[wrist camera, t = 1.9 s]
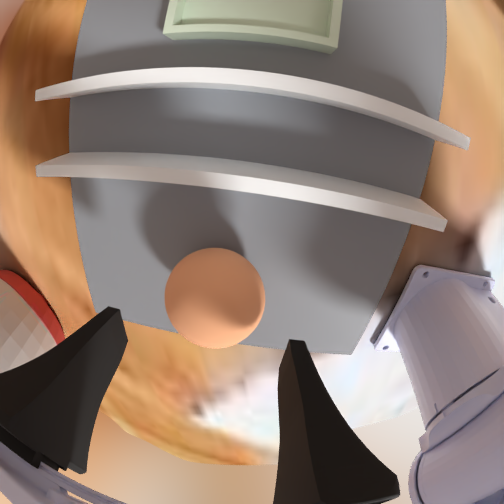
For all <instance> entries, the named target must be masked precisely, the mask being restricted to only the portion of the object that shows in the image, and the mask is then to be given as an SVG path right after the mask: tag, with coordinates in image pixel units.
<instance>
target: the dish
mask: <svg viewBox="0 0 504 504" xmlns="http://www.w3.org/2000/svg"><path fill="white" fill-rule="evenodd" d="M342 3H343V0H170V1H169V5H168V10H167V14H166V19H165V24H164V29H163V34H164V35H166V36H167V37H169V38H170V39H172V40H189V39H222V40H242V41H254V42H264V43H272V44H280V45H286V46H293V47H298V48H304V49H309V50H314V51H318V52H323V53H327V54H332V53H333V52H334V51H335V50H336V49H337V47H338V39H339V31H340V22H341V13H342Z"/></svg>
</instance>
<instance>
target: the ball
mask: <svg viewBox="0 0 504 504" xmlns="http://www.w3.org/2000/svg"><path fill="white" fill-rule="evenodd" d="M264 307H265V290H264V285H263V282H262V279H261V277H260V275H259V273H258V272H257V270H256V269H255V267H254V266H253V265H252V264H251V263H250V262H249V261H248V260H247V259H246V258H244V257H243V256H241V255H240V254H238V253H236V252H234V251H231V250H228V249H223V248H206V249H201V250H197V251H195V252H193V253H191V254H189V255H187V256H186V257H184V258H183V259H182V260H181V261H180V262H179V263H178V264H177V265H176V266H175V267H174V269H173V270H172V272H171V274H170V275H169V278H168V280H167V283H166V287H165V308H166V312H167V315H168V317H169V319H170V321H171V323H172V325H173V326H174V328H175V329H176V330H177V331H178V333H179V334H180V335H182V336H183V337H184V338H185V339H187V340H188V341H190V342H192V343H194V344H196V345H198V346H202V347H206V348H225V347H229V346H232V345H235V344H237V343H239V342H241V341H242V340H244V339H245V338H247V337H248V336H249V335H250V334H251V333H252V332H253V331H254V330H255V328H256V327H257V325H258V324H259V322H260V320H261V318H262V315H263V312H264Z"/></svg>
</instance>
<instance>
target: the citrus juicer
mask: <svg viewBox="0 0 504 504" xmlns="http://www.w3.org/2000/svg"><path fill="white" fill-rule="evenodd" d="M63 340H65V337H64V333H63V331H62V328H61V326H60V324H59V322H58V320H57V319H56V317H55V315H54V314H53V312H52V311H51V309H50V308H49V306H48V305H47V303H46V301H45V299H44V298H43V296H42V295H41V294H40V293H38V292H36V291H35V289H33V288H32V287H31V286H30V285H29V284H28V283H27V282H26V281H25V280H24V279H23V278H21V277H20V276H19V275H17V274H15V273H14V272H12V271H9V270H0V373H3V372H5V371H8V370H11V369H13V368H16V367H18V366H21V365H23V364H25V363H27V362H29V361H31V360H33V359H35V358H37V357H39V356H40V355H42V354H44V353H45V352H47V351H49V350H50V349H52V348H53V347H55V346H56V345H58V344H59V343H60V342H62V341H63Z"/></svg>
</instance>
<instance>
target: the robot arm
mask: <svg viewBox="0 0 504 504" xmlns="http://www.w3.org/2000/svg"><path fill="white" fill-rule="evenodd" d="M425 272H426V273H425ZM424 273H425V274H424ZM423 274H424V275H423ZM494 284H495V280H494V279H493V278H490V277H485V276H480V275H474V274H469V273H464V272H458V271H453V270H447V269H442V268H436V267H431V266H425V265H418V266H416V267H415V268H414V269H413V271H412V273H411V275H410V278H409V280H408V282H407V284H406V286H405V288H404V290H403V292H402V294H401V296H400V298H399V300H398V302H397V304H396V306H395V308H394V310H393V312H392V314H391V316H390V318H389V319H388V321H387V323H386V325H385V327H384V328H383V330H382V332H381V334H380V335H379V337H378V339H377V340H376V342H375V344H374V349H375V351H387V352H400V353H401V355H402V358H403V361H404V364H405V366H406V369H407V372H408V375H409V378H410V381H411V384H412V387H413V390H414V393H415V396H416V399H417V402H418V405H419V409H420V412H421V416H422V419H423V423H424V426H425V430H426V432H425V434H424V435H422V436H421V437H420V438H419V443H420V447H421V451H420V452H419V453H418V454H417V456H416V457H415V459H414V461H413V463H412V466H411V469H410V473H409V482H408V485H409V494H410V498H411V500H412V503H413V504H504V308H503V306H502V305H501V304H500V302H499V301H498V300H497V299H496V297H495V296H494V295H493V294H492V292H491V290H492V288H493V286H494ZM127 342H128V339H127V335H126V332H125V328H124V324H123V320H122V316H121V311H120V309H117V308H114V307H110V306H108V307H107V308H105V309H104V310H103V311H101V312H100V313H99V314H97V315H96V316H95V317H94V318H92V319H91V320H90V321H89V322H87V323H86V324H85V325H83V326H82V327H81V328H80V329H78V330H77V331H76V332H74V333H73V334H72V335H70V336H69V337H68V338H66V339H65V340H63V341H62V342H60V343H59V344H58V345H56V346H55V347H53V348H52V349H50V350H49V351H47V352H45V353H44V354H42V355H40V356H39V357H37V358H35V359H33V360H31V361H29V362H27V363H25V364H23V365H21V366H18V367H16V368H13V369H11V370H8V371H5V372H3V373H0V491H1V492H2V493H3V494H4V495H5V496H6V497H7V498H8V499H9V500H10V501H11V502H12V503H13V504H88V503H85V502H83V501H81V500H79V499H76V498H74V497H72V496H69V495H68V493H67V491H69V492H71V493H73V494H75V495H77V496H79V497H81V498H83V499H85V500H87V501H89V502H91V503H93V504H126V503H123V502H121V501H118V500H115V499H113V498H110V497H108V496H105V495H103V494H101V493H99V492H96V491H94V490H92V489H90V488H88V487H86V486H84V485H81V484H80V483H78V482H76V481H74V480H72V479H70V478H68V477H66V476H65V475H63V474H61V473H59V472H58V469H59V468H61V469H63V470H64V471H66V470H67V468H69V469H71V470H73V471H75V472H77V473H79V474H83V473H85V472H86V471H87V460H88V452H89V446H90V441H91V436H92V432H93V428H94V424H95V420H96V417H97V413H98V410H99V407H100V404H101V402H102V399H103V397H104V395H105V392H106V390H107V388H108V386H109V384H110V382H111V380H112V378H113V376H114V374H115V372H116V370H117V368H118V366H119V364H120V361H121V359H122V356H123V354H124V351H125V348H126V345H127ZM278 407H279V427H280V446H279V459H278V470H277V479H276V487H275V495H274V501H273V504H381V503H384V502H387V501H389V500H392V499H395V498H397V497H399V495H400V489H399V482H398V479H397V475H396V474H395V473H393V472H392V471H391V470H390V469H389V468H387V467H386V466H385V465H384V464H383V463H382V462H381V461H380V460H378V459H377V457H376V456H375V455H374V454H373V453H372V452H371V451H370V450H369V449H368V448H367V447H366V446H365V445H364V444H363V442H361V440H360V439H359V438H358V437H357V435H356V434H355V433H354V432H353V430H352V429H351V428H350V426H349V425H348V424H347V422H346V421H345V419H344V418H343V417H342V415H341V414H340V412H339V410H338V409H337V407H336V406H335V404H334V402H333V400H332V399H331V397H330V395H329V393H328V392H327V390H326V388H325V386H324V384H323V382H322V380H321V378H320V376H319V374H318V372H317V369H316V367H315V365H314V363H313V360H312V358H311V355H310V353H309V350H308V348H307V345H306V343H305V341H303V340H293V339H289V341H288V344H287V347H286V350H285V353H284V356H283V359H282V362H281V364H280V367H279V377H278Z"/></svg>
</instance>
